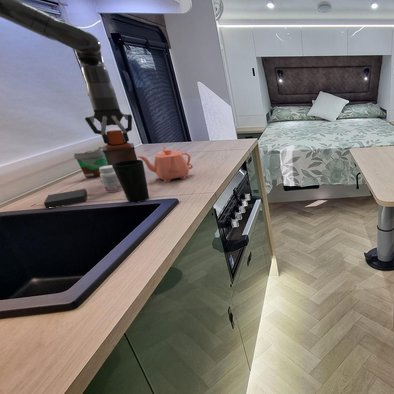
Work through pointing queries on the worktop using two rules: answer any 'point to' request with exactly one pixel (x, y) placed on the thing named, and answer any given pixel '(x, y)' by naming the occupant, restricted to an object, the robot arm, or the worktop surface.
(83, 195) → the stand
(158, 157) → the teapot
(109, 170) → the pill bottle
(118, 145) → the hat
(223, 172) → the worktop surface
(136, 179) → the cup
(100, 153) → the food container
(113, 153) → the brown tapered pot
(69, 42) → the robot arm
